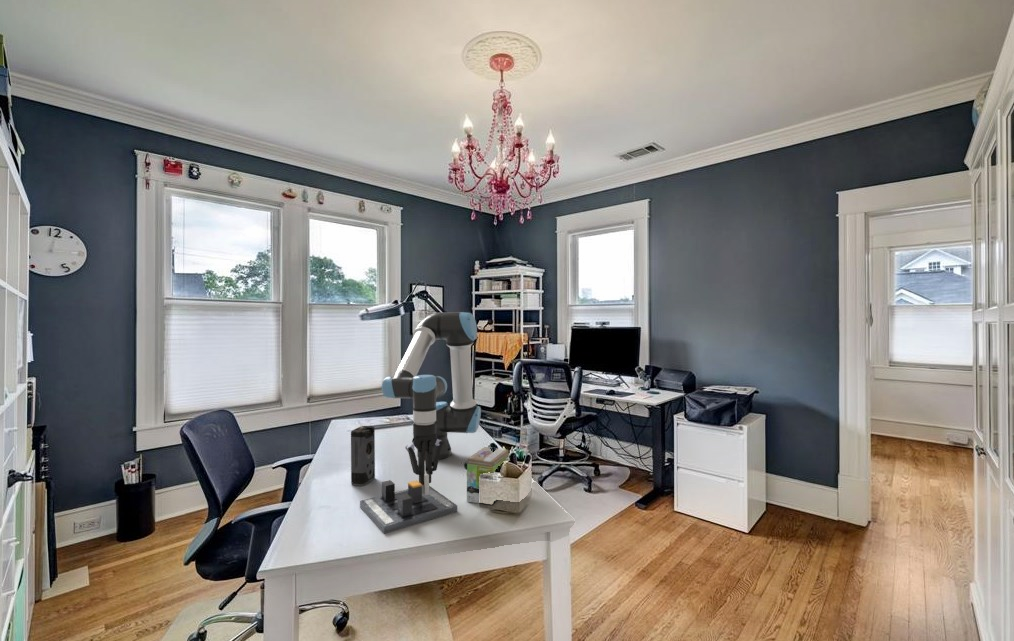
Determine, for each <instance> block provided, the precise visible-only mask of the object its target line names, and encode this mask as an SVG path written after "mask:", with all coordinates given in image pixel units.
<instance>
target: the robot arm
mask: <svg viewBox="0 0 1014 641" xmlns="http://www.w3.org/2000/svg"><path fill="white" fill-rule="evenodd" d="M477 328H478V327H477V321H476V319H475V317H474V314H472V313H471V312H465V311H464V312H463V311H452V312H450V311H449V312H448V311H447V312H441V311H440V312H435V313H432V314H429V315H427V316H425V317H424V318H423V319H422V320H421V321H420V322H419V323H418V324H417V325H416V326H415V328H414V330H413V331H412V332H413V333H412V339H411V341H410V343H409V345H408V347H407V349H406V352H405V353H404V355H403V357H402V358H401V361H400V363H399V365H398V367H397V369H396V371H395V373H394V374H393V376H392V375H391V376H386V377H385V378H384V379H383V380H382V383H381V393H382V395H383V396H384V398H388V399H412V407H413V408H412V422H414V423H413V424H412V431H413V432H412V439H411V443H410V444H409V445H406V446H405V450H406V451H407V452H408V456H409V460H410V465H411V467H412V472H413V473H414V475H417V476H418V482H420V483H421V484H422V494H424V495H429V486H430V484H431V483H432V475H433V473H434V472H436V471H437V470H438V464H439V460H444V459H447V458H448V457H450V456H452V446H451V444H450V441H449V438H448V433H455V434H474V433H476V432H477V431H478V429H479V426H480V421H481V417H482V416H481V413H482V408H481V406H479V405H477V401H476V400H475V399H474V398H473V379H472V378H473V377H472V360H471V359H472V357H471V346H472V345H473V344H474V341H475V340H476V339H477V337H478V329H477ZM438 340H439V341H440V340H442V341H443V340H444V341H445V343H446V344H445V345H446V346H447V347H448V348H449V353H450V369H451V384H452V398H453V399H452V401H450V403H449V405H448V402H447V401H437V399H440V398H441V397H443V396H444V395H445V393H447V389H448V383H447V380H446V379H445V378H444V377H442V376H440V375H436V376H435V375H434V374H420V375H419V374H418V373H419V371H420V368H421V367H422V365H423V362H424V360H425V358H426V356H427V353H428V351H429V349H430V347H431V346H432V345H433V344H435V342H436V341H438ZM415 448H416V449H417V452H415ZM416 454H417V455H416ZM416 456H417V457H416ZM417 458H418V459H417Z"/></svg>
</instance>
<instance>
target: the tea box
mask: <svg viewBox="0 0 1014 641" xmlns="http://www.w3.org/2000/svg"><path fill="white" fill-rule="evenodd" d="M490 448H491V447H489V446H488V447H487V446H484V447H482V448H481V449H480V450H478V451H476V452H475V453H474V454H472V455H470V456H469V457H467V458H466V459H467V460H466V461H467V463H466V464H467V465H466V467H467V468H466V502H469V503H474V504H479V476H480V474H483V473H488V472H490V473H494V472H495V470H496V469H497V467H498V466H500V465H501V464H502V463H503V461H505V460H506V458H507V456H508V455H509V456H510V454H509V452H510V451H509V449H504V448H496V450H495V451H494V452H491V449H490Z"/></svg>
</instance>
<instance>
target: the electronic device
mask: <svg viewBox="0 0 1014 641" xmlns="http://www.w3.org/2000/svg"><path fill="white" fill-rule="evenodd" d="M375 441H376V440H375V427H374V426H373V425H361V426H358V427H357V428H354V429H352V430H351V431H350V474H351V475H350V481H351V482H350V483H351V485H353V486H357V487H358V486H360V487H361V486H362V487H363V486H366V485H368V484H369V483H370V482H372V481H373V480H374V479H375V477H376V464H375V463H376V454H375V453H376V450H375V449H376V448H375V447H376V445H375V444H376V443H375Z"/></svg>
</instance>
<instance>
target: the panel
mask: <svg viewBox="0 0 1014 641" xmlns="http://www.w3.org/2000/svg"><path fill="white" fill-rule="evenodd" d="M395 485H396V484H395V483H394V482H393V481H392V480H391V479H390V480H385V481H381V495H378V496H373V497H371V498H366V499H363V500H359V508H361V510H362V511H363V512H364V513H365V515H367V516H368V518H369V519H371V521H372V522H373V523H374V524H375V525H376V527H377V528H379V530H380V531H381V532H382V533H383V535H384V534H388V533H391V532H395V531H398V530H401V529H404V528H408V527H411V526H414V525H415V526H416V525H419V524H422V523H425V522H427V521H431V520H434V519H435V520H436V519H437V518H441V517H442V518H443V517H445V516H449V515H452V514H455V513H458V504H456V503H455V502H453V501H452V500H450V499H449V498H448V497H446V496H444V495H443V494H441V492H439V491H437V490H436V489H435V488H434V487H432V486H430V485H429V495H424V494H422V501H421V502H418V503H414V504H413V503H412V498H411V497H410V496H409V495H408V488H407V489H404V490H399V491H396V490H395V489H396V488H395V487H396V486H395Z"/></svg>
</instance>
